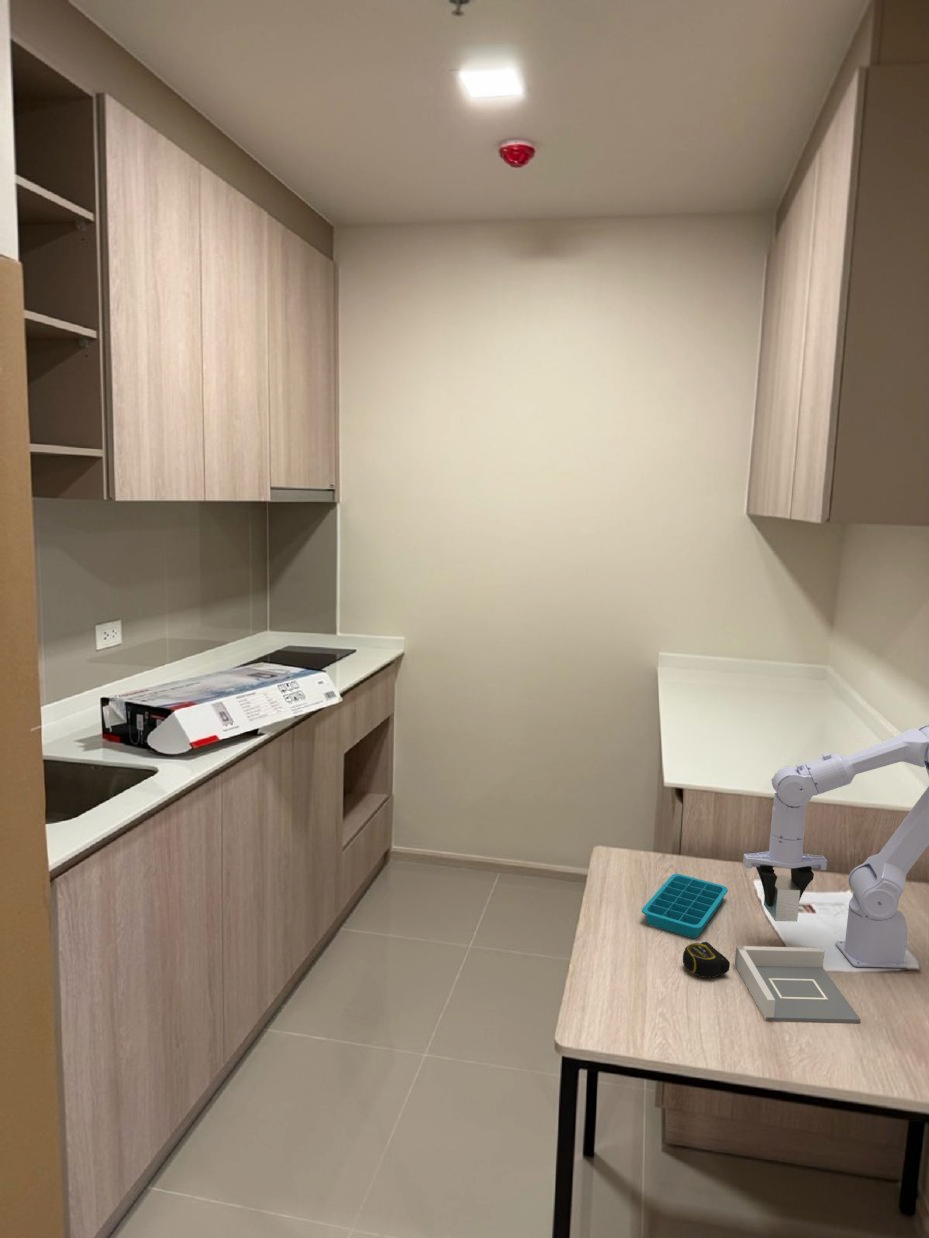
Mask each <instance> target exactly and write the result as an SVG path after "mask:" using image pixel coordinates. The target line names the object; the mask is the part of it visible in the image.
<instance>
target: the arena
mask: <svg viewBox="0 0 929 1238" xmlns="http://www.w3.org/2000/svg"><path fill="white" fill-rule="evenodd" d="M824 958H825V950H823V948H822V947H798V946H797V947H793V946H790V947H789V946H782V947H781V946H756V945H753V946H752V945H751V946H750V945H749V946H748V945H736V948H735V957H734V959H735V960H734V966H735V968H736V970H737V972H738V973H739V975H740V977H741V979H742V981H743V983H744V984H745V986H746V988H747V989H748V992H749V993H750V995H751V997H752V999H753V1000H754V1002H755V1004H756V1005H757V1007H758V1010H759V1011H760V1013H761V1014H762V1017H763V1018H764V1020H765V1021H767V1022H772V1021H773V1022H799V1023H800V1022H803V1023H805V1022H806V1023H808V1022H809V1023H810V1022H811V1023H840V1024H841V1023H847V1024H851V1023H852V1024H853V1023H854V1024H861V1020H862V1019H861V1018H860V1017H859V1015H858V1014H857V1012H856V1011H855V1010H854V1009H853V1006H851V1004H850V1003H849V1001H848V1000H847V999H846V997H845V995H843V993H842V992H841V990H840V989H839V988H838V987H837V985H836V984H835V982H834V981H833V980H832V978H831V977H830V976H829V974H828V972H827V971H826V970H825V969H824V960H825V959H824Z"/></svg>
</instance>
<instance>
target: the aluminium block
mask: <svg viewBox="0 0 929 1238" xmlns="http://www.w3.org/2000/svg"><path fill="white" fill-rule="evenodd" d="M776 876H777V880H776V883H775V887H774V897H773V905H772V907H769V906H768V905H767V904H766V903H765V897H764V900H763V906H764V907H765V908H766V910H767V912H768V913H769V915H770V916H771V917H772V918H773V920H774V921H775V922H794V923H795V922H798V917H799V910H800V909H799V906H800V901H799V898H800V889H799V888H798V887H797V886H796V885H795V883H794V882H793V881H792V880H791V876H789V875H788V874H776Z"/></svg>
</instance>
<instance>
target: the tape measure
mask: <svg viewBox="0 0 929 1238" xmlns="http://www.w3.org/2000/svg"><path fill="white" fill-rule="evenodd" d="M682 962H683V965H684V968H686V970H687V971H688V972H690V973H691V974H693V975H695V976H698V977H702V978H715V977H718V976H719V975H723V974H727V973H729V971H730V965H731V963H730V961H729V959H728V958H727V957H726V956H724V954H722V953H720V951H718V950H717V949H716V948H715V947H714V946H713V945H711V943H709V942H708V941H704V942H701V943H699V942H694V943H690V944H688V945H687V946H686V947H685V948H684V951H683V954H682Z"/></svg>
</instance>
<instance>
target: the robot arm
mask: <svg viewBox="0 0 929 1238" xmlns="http://www.w3.org/2000/svg"><path fill="white" fill-rule="evenodd" d="M821 756H822V757H820V758H817V759H814V760H812V761H809V762H806V763H803V764H802V762H798V763H796V764H795V767H794V766H784V767H781V768H779V769H778V770H777V771H776V772H775V774H774V776H773V777H772V778H771V785H772V787H773V789H774V791H775V792H774V798H773V806H772V808H771V809H772V810H771V811H772V812H771V820H770V822H771V823H770V833H769V844H768V845H769V850H766V851H762V852H754V853H743V858H742V860H743V861H742V864H743V866H744V867H745V868H746V869H752V868H756V870H757V873H758V875H759V878H760V881H761V885H762V889H763V895H764V897H765V903H766V904H767V905H768V906H769V907H772V905H773V897H774V887H775V883H776V880H777V876H776V875H777V874H776V873H775V869H774V868H785V869H790V878H791V880H792V881H793V882H794V883H795V885H796V886H797V887H798V888H799V889H800V898H799V902H800V901H801V898H802V896H803V894H804V892H805V890H806V889H807V887H808V886H809V885H810V883H811V882H812V881H813V880H814V877H815V872H813V869H819V870H821V871H826V870H827V868H828V867H827V865H828V860H827V859H826V857H825V856H824V855H817V854H810V853H804V845H805V844H804V843H805V833H806V831H805V830H806V819H807V804H809V802H810V801H811V799H812V798H813V797H815V796H818V795H821V794H824V793H827V792H830V791H833V790H836V789H838V788H841V787H844V786H847V785H850V784H851V783H852V782H853V780H854V778H855V777H856V775H858V774H862V773H865V772H869V771H873V770H876V769H880V768H884V767H887V766H890V765H894V764H897V763H901V762H902V763H903V762H904V763H907V764H909V765H910V764H911V765H913V766H917V767H919V768H920V767H921V768H925V769H926V773H927V775H928V777H929V723H928V724H923V725H921V726H919V728H917V727H914V728H910V729H908V730H906V731H903V732H902V733H900V734H899V735H897V736H893V737H891V738H890V739H888V740H884V741H882V742H880V743H877V744H874V745H871V746H870V747H867V748H864V749H862V750H859V751H857V752H855V753H854V752H853V753H852V754H849V755H843V754H840V753H839V752H835V753H832V754H831V753H830V752H829V751H827V752H824V753H822V754H821ZM928 846H929V786H927V788H926V789H925V791H924V792H923V793H922V794H921V796H920V797H919V799H918V800H917V801H916V803H915V804H914V806H913V807H912V808H911V810H910V811H909V812H908V814H907V815H906V816H905V817H904V819H903V820H902V822H901V823H900V824H899V826H898V827H897V828H896V830H895V831H894V832H893V834H892V835H891V837H889V839H888V840H887V841H886V843H885V845H883V847H882V848H881V850H880V851H879V852H878V853H876V854H872V855H870V856H868V858H867V859H866V860H865V861H864V862H863V863H862V864H860V865H858V866H855V867H854V868H853V869H852V870H851V871H850V873H849V875H848V879H847V880H848V882H847V883H848V886H849V887H850V890H851V891H852V892H853V894H852V896H851V899H850V900H849V902H848V909H847V910H848V911H847V920H846V922H847V923H846V928H845V929H846V931H845V940H836V941H835V945H836V946H837V947H838V949H839V950H840V951H841V952H842V954H843V955H844V957H846V959H847V960H848V961H849V963H850V964H851V965H852V966H853V967H857V968H858V967H860V968H861V967H862V968H896V969H897V968H904V969H905V968H907V964H906V962H905V959H906V950H907V942H908V936H909V934H908V933H909V932H908V930H909V929H908V923H907V920H906V917H905V916H904V914H903V912H902V911H900V910H899V909H898V908H899V903H900V899H901V897H902V895H903V894H904V892H905V887H906V879H907V874H908V873H909V872H910V871H911V868H912V867H913V866H914V865H915V863H916V862H917V861H918V860H919V858H920V857H921V855H922V854H923V853H924V851H925V850H926V849H927V848H928Z"/></svg>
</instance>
